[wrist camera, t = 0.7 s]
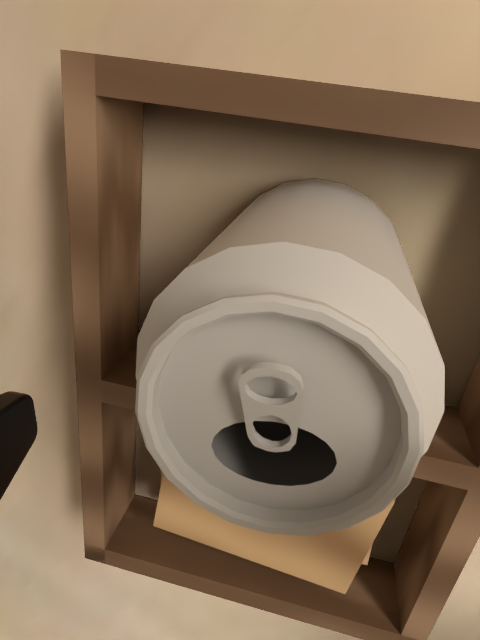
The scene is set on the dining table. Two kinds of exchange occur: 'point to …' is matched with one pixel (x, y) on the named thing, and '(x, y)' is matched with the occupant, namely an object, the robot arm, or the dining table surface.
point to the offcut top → (273, 541)
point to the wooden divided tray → (122, 331)
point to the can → (292, 366)
